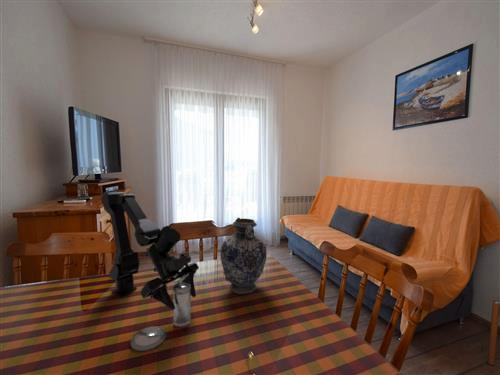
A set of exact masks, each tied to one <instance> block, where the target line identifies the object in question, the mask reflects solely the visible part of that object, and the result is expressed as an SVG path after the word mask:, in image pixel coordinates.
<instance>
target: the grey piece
mask: <svg viewBox="0 0 500 375" xmlns="http://www.w3.org/2000/svg"><path fill="white" fill-rule="evenodd" d="M190 290H191V285H190V284H189V283H186V282H182V283H178V284H175V285H174V284H173V286H172V292H173V303H174V306H175V309H174V310H173V320H172V321H173V322H172V324H173V326H174V327H176V328H184V327H186V326H189V325H190V324H191V294H190Z"/></svg>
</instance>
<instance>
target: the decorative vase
mask: <svg viewBox="0 0 500 375" xmlns="http://www.w3.org/2000/svg"><path fill="white" fill-rule="evenodd" d="M234 220H235V221H233V223H232V226H233V227H235V230H234V231H235V232H234V233H233V234H231V235H228V236H227V237H226V238H225V239H224V241H223V242H222V244H221V247H220V260H221V261H220V262H221V266H222V269H223V276H225V281H226V282H229V283H230V285H229V286H230V287H229V288H230V290H231V292H234V293H235V294H239V295H247V294H251V293H254V292H255V291H256V290H257V285H256V282H257V281H258V280H259V278H260V277H261V275H262V274H263V272H264V269H265V265H266V262H267V245H266V243H265V241H264V239H263V238H261V237H260V236H258V235H256V234H255V232H256V231H255V227H257V223H256V222H255V220H254V219H250V218H240V217H237V218H236V219H234Z"/></svg>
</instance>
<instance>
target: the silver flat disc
mask: <svg viewBox="0 0 500 375" xmlns="http://www.w3.org/2000/svg"><path fill="white" fill-rule="evenodd" d="M166 336H167V332H166V329H164V328H163V327H162V326H149V327H144V328H142V329H140V330H139V331H137V332H136V333H135V334H134V335H133V336H132V337H131V340H130V347H131V349H133V351H136V352H143V353H144V352H147V351H148V352H149V351H152V350H155V349H156V348H158V347H159V346H161V345H162V344H163V343H164V342H165V339H166Z"/></svg>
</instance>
